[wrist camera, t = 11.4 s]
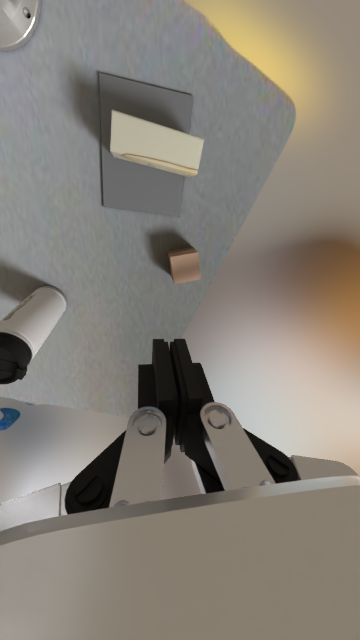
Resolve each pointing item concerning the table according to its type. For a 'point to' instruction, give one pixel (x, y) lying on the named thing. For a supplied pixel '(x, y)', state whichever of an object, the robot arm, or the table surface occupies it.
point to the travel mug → (28, 330)
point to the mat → (129, 177)
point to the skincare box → (154, 145)
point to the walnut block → (184, 265)
